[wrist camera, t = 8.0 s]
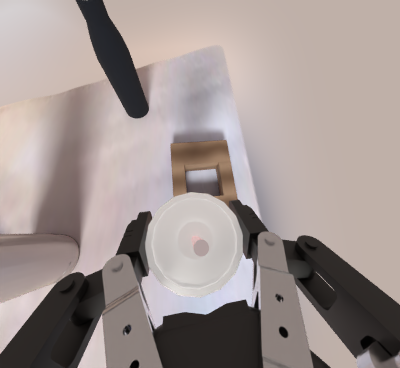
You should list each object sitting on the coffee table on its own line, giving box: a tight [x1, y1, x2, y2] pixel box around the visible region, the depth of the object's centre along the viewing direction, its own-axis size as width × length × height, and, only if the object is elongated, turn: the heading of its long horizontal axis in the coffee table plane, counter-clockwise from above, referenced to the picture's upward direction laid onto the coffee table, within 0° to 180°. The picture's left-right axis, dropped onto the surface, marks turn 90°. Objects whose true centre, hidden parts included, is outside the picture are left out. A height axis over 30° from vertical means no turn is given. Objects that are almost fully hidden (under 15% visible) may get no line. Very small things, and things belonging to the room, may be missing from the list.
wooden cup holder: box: [171, 140, 238, 207], centre depth 36 cm, size 20×14×4 cm
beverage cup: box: [145, 192, 243, 297], centre depth 11 cm, size 6×6×14 cm
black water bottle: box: [76, 0, 149, 118], centre depth 29 cm, size 6×6×30 cm
